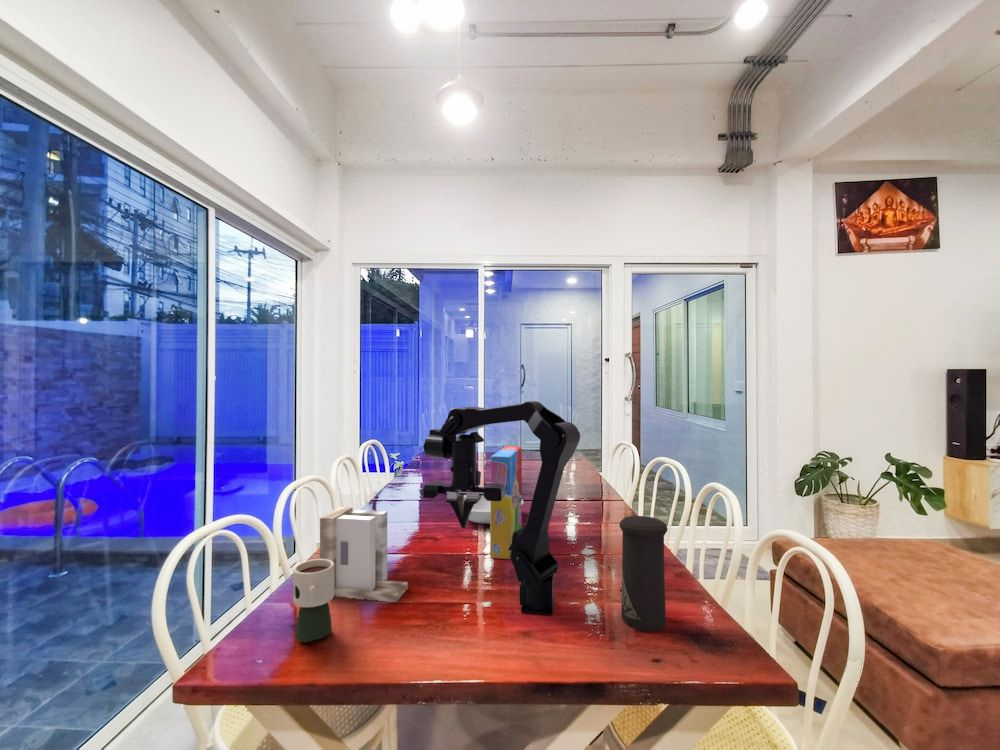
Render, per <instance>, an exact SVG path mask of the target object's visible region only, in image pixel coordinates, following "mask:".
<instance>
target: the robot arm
mask: <svg viewBox="0 0 1000 750" xmlns="http://www.w3.org/2000/svg"><path fill="white" fill-rule="evenodd" d="M518 421H520V422H521V421H524V422H525V423H526V424H527V425H528V427H529V429H530V431H531V432H532V434H533V435H534V436H535V437H537V439H538V440H539V441H540V442H539V454H540V458H541V465H540V470H539V474H538V476H537V480H536V483H535V484H536V485H535V489H534V492H533V496H532V499H531V504H530V507H529V511H528V516H527V518H526V523H525V526H522V528H521V529H519V530H517V531H515V532H514V533H513V536H512V544H511V546H510V547H509V549H508V550H511V552H510V559H509V560H510V561H511V563H512V565H513V568H514V571H515V574H516V578H517V581H518V582H519V605H520V606H521V608H520V612H521V613H523V614H524V613H527V614H535V615H537V614H538V615H550V616H552V615H553V613H554V609H555V608H554V607H555V598H554V574H556V573H557V572H558V569H559V567H560V563H559V562H558V559H556V557H555V556H554V554H552V552H551V551H550V545H551V540H550V534H549V526H550V522H551V518H552V514H553V511H554V507H555V503H556V499H557V495H558V491H559V489H560V485H561V481H562V477H563V473H564V471H565V467H566V465H567V464H568V462H569V461H570V459H571V458H572V457H573V455H574V454H575V451H576V449H577V447H578V445H579V443H580V440H581V432H580V431H579V429H578V427H577V426H576V425H575V424H574V423H572V422H570V421H566V420H565V419H564V418H563V417H562V416H560V415H558V414H557V413H555V412H553V411H552V410H549V409H548V408H547V407H546V406H545V405H543V404H542V403H541V402H539V401H536V400H534V401H533V400H532V401H524V402H522V403H517V404H509V405H504V406H503V405H502V406H494V407H488V408H487V407H486V408H485V407H478V406H465V407H464V406H463V407H454V408H451V409H450V410H449V412H448V414H447V418H446V420H445V421H444V423H443V425H442V426H441V428H440V429H439V428H438V429H437V428H433V429H430V430H429V434H428V435H427V437H426V438H425V440H424V443H423V447H422V448H423V450H424V453H425V455H426V456H427V457H429V458H438V459H439V458H440V459H446V460H449V459H451V466H450V472H451V484H450V485H446V483H445V481H441V480H440V481H438V480H431V481H429V482H427V483H426V484H424V486H422V490H421V498H423V499H436V497H437V496H439V495H446V499H445V503H447V504H448V503H449V504H450V506H451V508H452V509H453V511H454V513H455V515H456V518H457V521H458V522H459V525H460V527H461V529H466V528H467V525H468V522H469V520H468V519H469V516H470V513H471V510H472V508H473V505H474V504H476V503H477V502H478V501H479V500H480V499H481V496H484V498H485V499H486V500H487V501H501V500H502V499H503V497H504V496H505V486H504V485H503V484H494V483H491V482H489V483H487V484H486V485H485V486H481V477H482V472H481V471H480V470H478V465H477V464H478V463H477V444H478V443H482V442H484V441H485V439H484V438H483V437H482V435H480V434H479V432H478V431H476V430H479V429H482V428H485V427H487V426H489V425H493V424H502V423H504V424H505V423H510V422H518ZM468 432H470V434H467V433H468ZM457 435H458V436H457ZM464 495H466V497H467V499H466V500H465V501H464V506H463V500H464Z"/></svg>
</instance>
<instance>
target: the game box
mask: <svg viewBox="0 0 1000 750" xmlns="http://www.w3.org/2000/svg"><path fill="white" fill-rule="evenodd" d="M522 449H523V448H522V447H521V446H511V445H509V446H508V445H505V446H504V447H502V448H501V449H500V450H498V451H497V452H496V453H494V454H493V455H491V456H490V483H494V484H503V485H504V486H505V496H504V497H503V499H502V500H501V501H490V524H489V525H490V527H489V529H490V536H489V537H490V538H489V539H490V541H489V545H490V547H489V548H490V549H489V550H490V551H489V554H490V556H489V557H490V558H491V559H500V560H501V559H502V560H503V559H504V560H510V552H511V550H508V549H509V547H510V546H511V544H512V536H513V533H514V532H515V531H517V530H519V529H521V528H523V516H522V514H523V513H522V511H523V508H522V507H523V505H522V500H523V493H522V490H523V489H522V486H523V485H522V483H523V481H522V480H523V479H522V475H523V474H522V472H523V471H522V468H523V467H522V466H523V465H522V461H523V458H522V457H523V456H522V455H523V454H522V452H523V450H522Z"/></svg>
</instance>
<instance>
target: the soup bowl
mask: <svg viewBox="0 0 1000 750" xmlns="http://www.w3.org/2000/svg"><path fill="white" fill-rule="evenodd" d="M466 499H467V497H466V495H464V500H463V506H464V501H465V500H466ZM523 505H524V499H522V506H523ZM468 521H471V522H473V523H477V524H485V525H486V524H488V525H490V501H487V500H486V499H485V498H484V496H481V499H480V500H479V501H478V502H477V503H476V504H474V505H473V508H472V510H471V513H470V516H469V519H468Z"/></svg>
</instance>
